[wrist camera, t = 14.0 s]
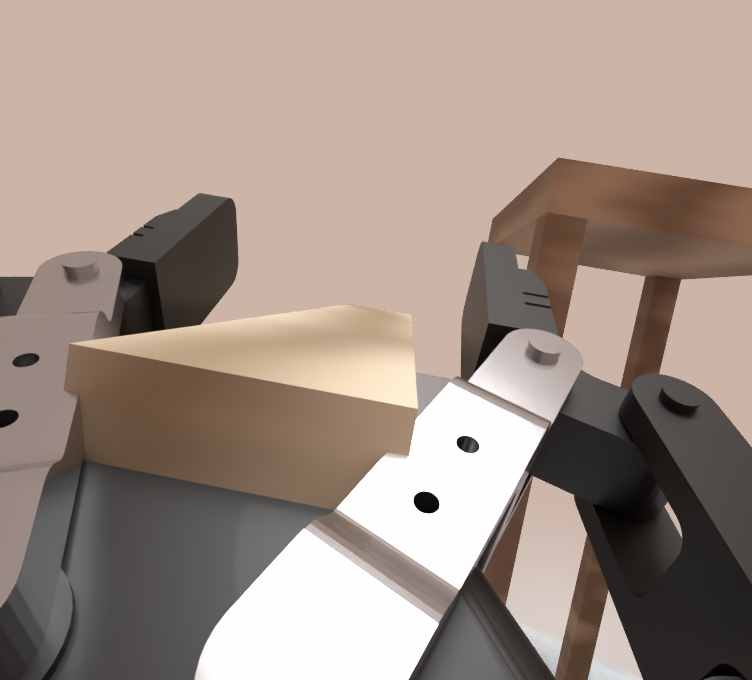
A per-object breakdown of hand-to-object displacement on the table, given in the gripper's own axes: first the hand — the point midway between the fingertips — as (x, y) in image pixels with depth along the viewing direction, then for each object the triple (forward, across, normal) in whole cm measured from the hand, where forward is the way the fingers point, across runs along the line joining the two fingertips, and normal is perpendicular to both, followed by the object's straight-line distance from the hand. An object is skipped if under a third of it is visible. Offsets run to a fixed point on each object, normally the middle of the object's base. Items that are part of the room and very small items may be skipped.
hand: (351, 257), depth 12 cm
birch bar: (+2, 0, +6) cm, 7 cm away
